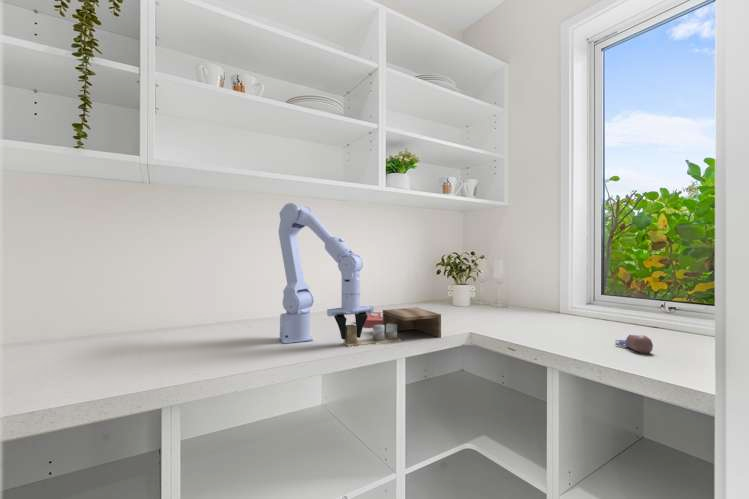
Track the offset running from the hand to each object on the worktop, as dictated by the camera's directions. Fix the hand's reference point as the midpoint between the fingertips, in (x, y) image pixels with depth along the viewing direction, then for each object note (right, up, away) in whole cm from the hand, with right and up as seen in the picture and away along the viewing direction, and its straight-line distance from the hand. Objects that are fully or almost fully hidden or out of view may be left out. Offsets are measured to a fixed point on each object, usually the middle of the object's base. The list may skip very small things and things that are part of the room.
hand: (350, 337), depth 104 cm
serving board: (+7, -2, +3) cm, 8 cm away
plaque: (+8, -3, +33) cm, 34 cm away
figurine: (+83, -2, -5) cm, 83 cm away
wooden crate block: (+20, -2, +13) cm, 24 cm away
